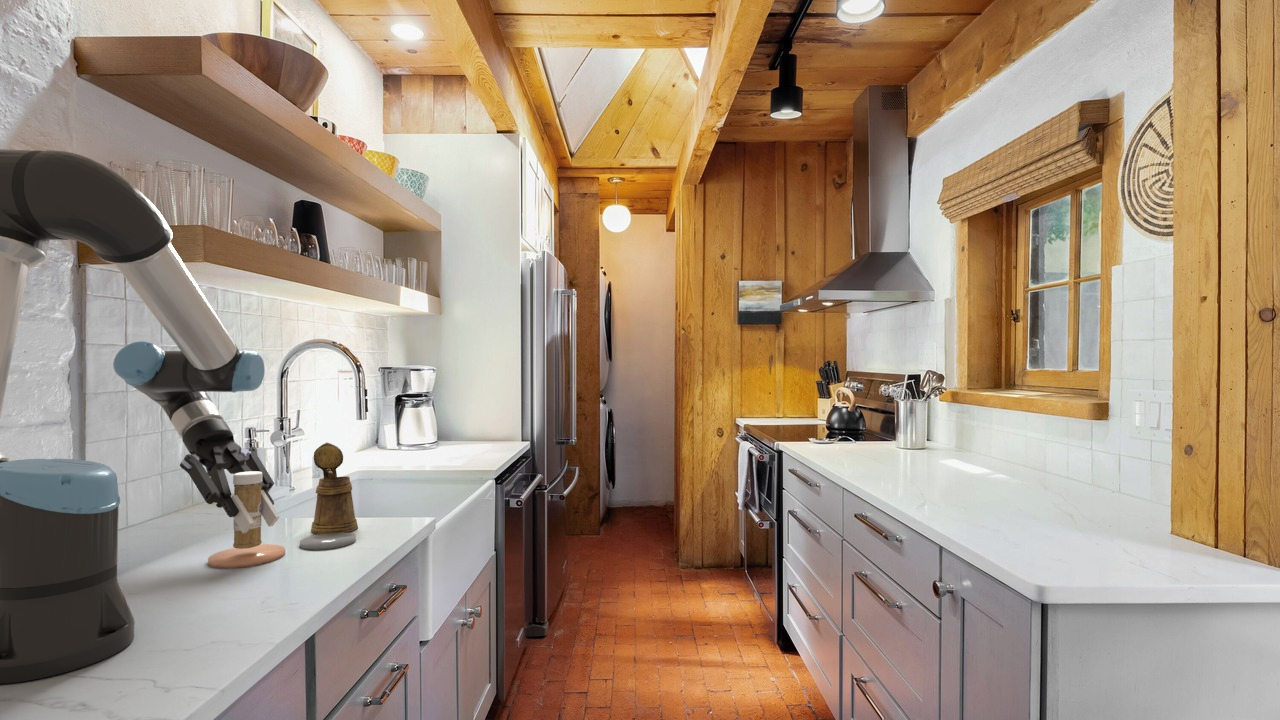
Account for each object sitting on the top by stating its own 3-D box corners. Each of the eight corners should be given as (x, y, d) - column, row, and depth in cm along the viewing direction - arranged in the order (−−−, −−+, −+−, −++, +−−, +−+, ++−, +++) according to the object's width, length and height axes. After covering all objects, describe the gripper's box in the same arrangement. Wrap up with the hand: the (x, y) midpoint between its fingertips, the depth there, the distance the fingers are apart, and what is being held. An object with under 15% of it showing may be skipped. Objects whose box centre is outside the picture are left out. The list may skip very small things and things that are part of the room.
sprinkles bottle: (262, 546, 115) (263, 473, 115) (232, 550, 112) (233, 475, 113) (261, 541, 119) (261, 469, 119) (232, 544, 116) (233, 471, 116)
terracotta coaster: (216, 572, 107) (216, 568, 107) (201, 557, 116) (201, 553, 116) (293, 557, 116) (293, 553, 116) (274, 544, 124) (274, 540, 124)
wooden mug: (347, 518, 146) (348, 440, 146) (362, 531, 135) (362, 446, 135) (304, 524, 140) (305, 443, 141) (315, 537, 130) (316, 450, 130)
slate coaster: (309, 553, 118) (309, 549, 119) (292, 542, 126) (292, 538, 126) (363, 542, 126) (363, 538, 126) (344, 533, 133) (344, 529, 133)
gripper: (238, 438, 130) (294, 526, 123) (144, 448, 114) (202, 550, 107) (256, 413, 128) (313, 502, 121) (163, 420, 112) (223, 522, 105)
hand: (261, 524), depth 114 cm, fingers closed on sprinkles bottle, 4 cm apart
